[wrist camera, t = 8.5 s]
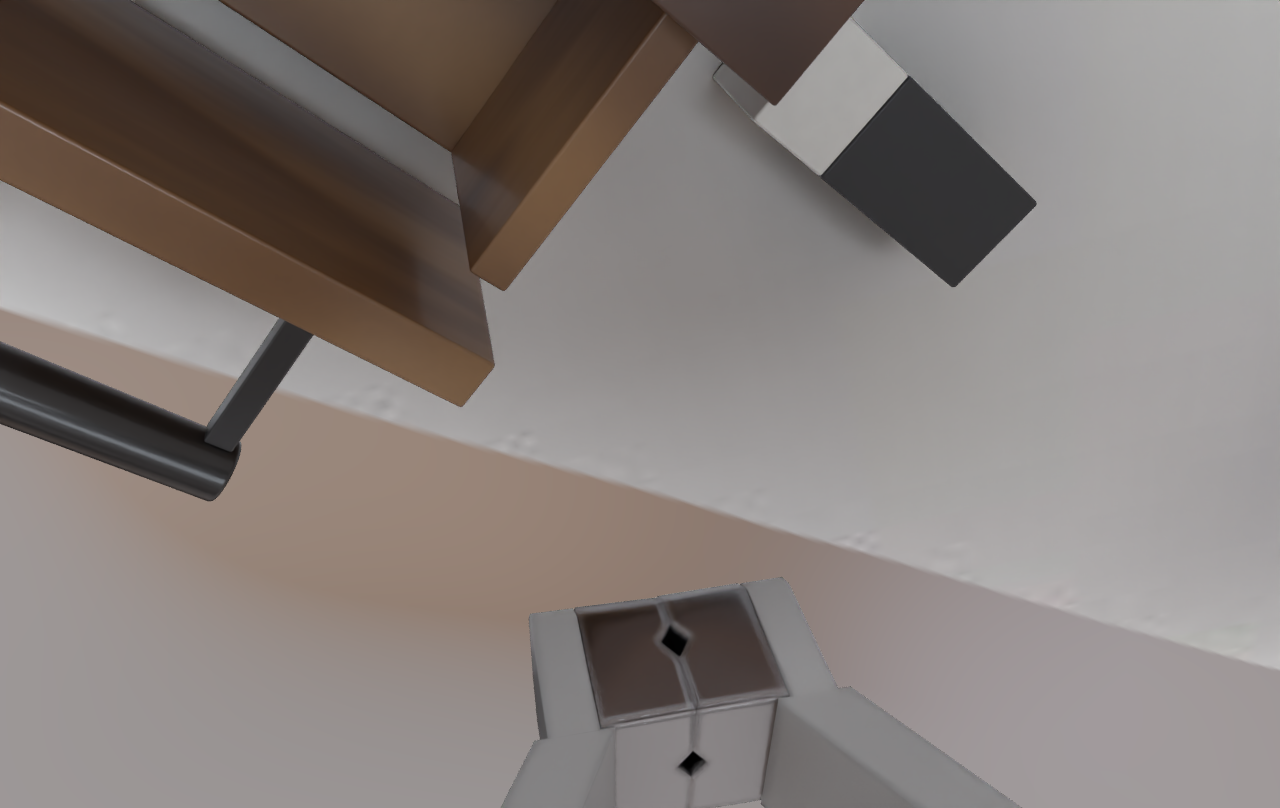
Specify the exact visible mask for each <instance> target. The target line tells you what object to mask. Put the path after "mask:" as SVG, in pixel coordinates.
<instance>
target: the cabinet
mask: <svg viewBox="0 0 1280 808" xmlns="http://www.w3.org/2000/svg"><path fill="white" fill-rule="evenodd" d="M651 1H652V2H653V3H655V4H656V5H657V6H658V7H659V8H660V9H661V10H663V11H664V12H665V13H666V14H667V15H668V16H670V17H671V18H672V19H673V20H674V21H675V22H677V23H678V24H679V25H680V26H681V27H682V28H684V29H685V30H686V31H687V32H688V33H689V34H690V35H692V36H693V37H694V38H695V39H696V40H697V41H699V42H700V43H701V44H702V45H703V46H704V47H706V48H707V49H708V50H709V51H710V52H711V53H713V54H714V55H715V56H716V57H717V58H718V59H719V60H721V61H722V62H723V63H724V64H725V65H726V66H728V67H729V68H730V69H731V70H732V71H733V72H735V73H736V74H737V75H738V76H739V77H740V78H742V79H743V80H744V81H745V82H746V83H747V84H749V85H750V86H751V87H752V88H753V89H754V90H755V91H757V92H758V93H759V94H760V95H761V96H762V97H764V98H765V99H766V100H767V101H768V102H769V103H771V104H772V105H774V106H776V105H777V104H778V103H779V102H780V101H781V100H782V98H783V97H784V96H785V95H786V94H787V92H788V91H789V90H790V89H791V88H792V86H793V85H794V84H795V83H796V82H797V80H798V79H799V78H800V77H801V76H802V74H803V73H804V72H805V71H806V70H807V68H808V67H809V66H810V65H811V64H812V62H813V61H814V60H815V59H816V58H817V56H818V55H819V54H820V53H821V52H822V50H823V49H824V48H825V47H826V46H827V44H828V43H829V42H830V41H831V40H832V38H833V37H834V36H835V35H836V34H837V32H838V31H839V30H840V29H841V28H842V26H843V25H844V24H845V23H846V22H847V20H848V19H849V18H850V17H851V16H852V14H853V13H854V12H855V11H856V10H857V8H858V7H859V6H860V5H861V4H862V2H863V1H864V0H651Z"/></svg>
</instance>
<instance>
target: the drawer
mask: <svg viewBox="0 0 1280 808" xmlns="http://www.w3.org/2000/svg"><path fill="white" fill-rule="evenodd" d="M219 1H220V2H222V3H223V4H225V5H226V6H228V7H229V8H231V9H232V10H234V11H235V12H237V13H238V14H240V15H241V16H243V17H245V18H246V19H248V20H249V21H251V22H252V23H254V24H255V25H257V26H258V27H260V28H261V29H263V30H264V31H266V32H267V33H269V34H271V35H272V36H274V37H275V38H277V39H278V40H280V41H281V42H283V43H284V44H286V45H287V46H289V47H290V48H292V49H293V50H295V51H297V52H298V53H300V54H301V55H303V56H304V57H306V58H307V59H309V60H310V61H312V62H313V63H315V64H316V65H318V66H319V67H321V68H323V69H324V70H326V71H327V72H329V73H330V74H332V75H333V76H335V77H336V78H338V79H339V80H341V81H342V82H344V83H345V84H347V85H348V86H350V87H352V88H353V89H355V90H356V91H358V92H359V93H361V94H362V95H364V96H365V97H367V98H368V99H370V100H371V101H373V102H374V103H376V104H378V105H379V106H381V107H382V108H384V109H385V110H387V111H388V112H390V113H391V114H393V115H394V116H396V117H397V118H399V119H400V120H402V121H404V122H405V123H407V124H408V125H410V126H411V127H413V128H414V129H416V130H417V131H419V132H420V133H422V134H423V135H425V136H426V137H428V138H430V139H431V140H433V141H434V142H436V143H437V144H439V145H440V146H442V147H443V148H445V149H446V150H448V151H449V152H451V155H452V162H453V168H454V174H455V180H456V187H457V193H458V199H459V205H460V206H459V205H457V204H456V203H454V202H453V201H451V200H449V199H448V198H446V197H445V196H443V195H441V194H440V193H438V192H437V191H435V190H433V189H432V188H430V187H429V186H427V185H425V184H424V183H422V182H420V181H419V180H417V179H416V178H414V177H412V176H411V175H409V174H408V173H406V172H404V171H403V170H401V169H400V168H398V167H396V166H395V165H393V164H392V163H390V162H388V161H387V160H385V159H384V158H382V157H380V156H379V155H377V154H376V153H374V152H372V151H371V150H369V149H368V148H366V147H364V146H363V145H361V144H360V143H358V142H356V141H355V140H353V139H351V138H350V137H348V136H347V135H345V134H343V133H342V132H340V131H339V130H337V129H335V128H334V127H332V126H331V125H329V124H327V123H326V122H324V121H323V120H321V119H319V118H318V117H316V116H315V115H313V114H311V113H310V112H308V111H307V110H305V109H303V108H302V107H300V106H299V105H297V104H295V103H294V102H292V101H291V100H289V99H287V98H286V97H284V96H283V95H281V94H279V93H278V92H276V91H274V90H273V89H271V88H270V87H268V86H266V85H265V84H263V83H262V82H260V81H258V80H257V79H255V78H254V77H252V76H250V75H249V74H247V73H246V72H244V71H242V70H241V69H239V68H238V67H236V66H234V65H233V64H231V63H230V62H228V61H226V60H225V59H223V58H222V57H220V56H218V55H217V54H215V53H214V52H212V51H210V50H209V49H207V48H205V47H204V46H202V45H201V44H199V43H197V42H196V41H194V40H193V39H191V38H189V37H188V36H186V35H185V34H183V33H181V32H180V31H178V30H177V29H175V28H173V27H172V26H170V25H169V24H167V23H165V22H164V21H162V20H161V19H159V18H157V17H156V16H154V15H153V14H151V13H149V12H148V11H146V10H145V9H143V8H141V7H140V6H138V5H137V4H135V3H133V2H132V1H130V0H0V180H1V181H3V182H5V183H7V184H9V185H11V186H13V187H15V188H17V189H19V190H21V191H24V192H26V193H28V194H30V195H32V196H34V197H36V198H38V199H40V200H42V201H44V202H46V203H48V204H50V205H52V206H54V207H56V208H58V209H60V210H62V211H64V212H66V213H68V214H70V215H72V216H74V217H76V218H78V219H80V220H82V221H84V222H86V223H88V224H90V225H92V226H94V227H96V228H98V229H100V230H102V231H104V232H107V233H109V234H111V235H113V236H115V237H117V238H119V239H121V240H123V241H125V242H127V243H129V244H131V245H133V246H135V247H137V248H139V249H141V250H143V251H145V252H147V253H149V254H151V255H153V256H155V257H157V258H159V259H161V260H163V261H165V262H167V263H169V264H171V265H173V266H175V267H177V268H179V269H181V270H183V271H185V272H188V273H190V274H192V275H194V276H196V277H198V278H200V279H202V280H204V281H206V282H208V283H210V284H212V285H214V286H216V287H218V288H220V289H222V290H224V291H226V292H228V293H230V294H232V295H234V296H236V297H238V298H240V299H242V300H244V301H246V302H248V303H250V304H252V305H254V306H256V307H258V308H260V309H262V310H264V311H266V312H268V313H271V314H273V315H275V316H277V317H279V319H278V321H277V322H276V324H275V325H274V327H273V328H272V330H271V331H270V333H269V334H268V336H267V337H266V339H265V340H264V342H263V343H262V345H261V346H260V348H259V349H258V350H257V352H256V353H255V355H254V356H253V358H252V359H251V361H250V362H249V364H248V365H247V367H246V368H245V370H244V371H243V373H242V374H241V376H240V377H239V379H238V380H237V382H236V383H235V385H234V386H233V388H232V389H231V391H230V392H229V393H228V395H227V397H226V398H225V399H224V401H223V402H222V404H221V405H220V407H219V408H218V410H217V411H216V413H215V414H214V416H213V417H212V419H211V420H210V422H209V423H208V425H207V427H206V426H203V425H201V424H199V423H196V422H194V421H192V420H189V419H187V418H184V417H182V416H180V415H177V414H175V413H172V412H170V411H167V410H165V409H162V408H160V407H158V406H155V405H153V404H151V403H148V402H146V401H143V400H141V399H138V398H136V397H134V396H131V395H129V394H126V393H124V392H122V391H119V390H117V389H114V388H112V387H109V386H107V385H105V384H102V383H100V382H97V381H95V380H92V379H90V378H88V377H85V376H83V375H80V374H78V373H76V372H73V371H71V370H68V369H66V368H63V367H61V366H59V365H56V364H54V363H51V362H49V361H46V360H44V359H42V358H39V357H37V356H35V355H32V354H30V353H27V352H25V351H22V350H20V349H17V348H15V347H13V346H10V345H8V344H6V343H3V342H1V341H0V424H2V425H5V426H8V427H10V428H13V429H15V430H18V431H21V432H23V433H26V434H29V435H32V436H34V437H37V438H40V439H42V440H45V441H48V442H50V443H53V444H56V445H58V446H61V447H64V448H66V449H69V450H72V451H75V452H77V453H80V454H83V455H85V456H88V457H91V458H94V459H96V460H99V461H101V462H104V463H107V464H109V465H112V466H115V467H117V468H120V469H123V470H125V471H128V472H131V473H134V474H136V475H139V476H142V477H144V478H147V479H150V480H152V481H155V482H158V483H160V484H163V485H166V486H169V487H171V488H174V489H176V490H179V491H182V492H185V493H187V494H190V495H193V496H195V497H198V498H201V499H203V500H206V501H213V500H214V499H216V498H217V497H218V496H219V495H220V493H221V492H222V491H223V489H224V488H225V486H226V484H227V483H228V481H229V479H230V477H231V476H232V474H233V471H234V469H235V467H236V465H237V462H238V459H239V456H240V452H241V442H240V440H241V438H242V437H243V435H244V434H245V433H246V431H247V430H248V428H249V427H250V425H251V424H252V423H253V421H254V420H255V418H256V417H257V415H258V414H259V412H260V411H261V410H262V408H263V407H264V405H265V404H266V402H267V401H268V400H269V398H270V397H271V395H272V394H273V392H274V391H275V390H276V388H277V387H278V385H279V384H280V382H281V381H282V380H283V378H284V377H285V375H286V374H287V372H288V371H289V369H290V368H291V367H292V365H293V364H294V362H295V361H296V359H297V358H298V357H299V355H300V354H301V352H302V351H303V349H304V348H305V347H306V345H307V344H308V342H309V341H310V339H311V338H312V336H313V335H315V336H317V337H319V338H321V339H323V340H325V341H327V342H329V343H331V344H333V345H335V346H337V347H339V348H341V349H343V350H345V351H347V352H349V353H352V354H354V355H356V356H358V357H360V358H362V359H364V360H366V361H368V362H370V363H372V364H374V365H376V366H378V367H380V368H382V369H384V370H386V371H388V372H390V373H392V374H394V375H396V376H398V377H400V378H402V379H404V380H406V381H408V382H410V383H412V384H414V385H416V386H418V387H420V388H422V389H424V390H426V391H428V392H430V393H432V394H435V395H437V396H439V397H441V398H443V399H445V400H447V401H449V402H451V403H453V404H455V405H457V406H459V407H462V406H463V405H464V404H465V403H466V402H467V400H468V399H469V398H470V397H471V395H472V394H473V393H474V392H475V390H476V389H477V388H478V387H479V385H480V384H481V383H482V382H483V380H484V379H485V378H486V377H487V375H488V374H489V373H490V372H491V370H492V369H493V368H494V366H495V363H494V357H493V351H492V346H491V340H490V334H489V328H488V323H487V317H486V311H485V306H484V300H483V294H482V289H481V283H480V278H481V279H483V280H485V281H487V282H488V283H490V284H492V285H493V286H495V287H497V288H499V289H500V290H502V291H505V290H506V289H507V288H508V287H509V285H510V284H511V283H512V281H513V280H514V279H515V278H516V276H517V275H518V274H519V272H520V271H521V270H522V269H523V267H524V266H525V265H526V263H527V262H528V261H529V260H530V258H531V257H532V256H533V254H534V253H535V252H536V251H537V249H538V248H539V247H540V245H541V244H542V243H543V242H544V240H545V239H546V238H547V236H548V235H549V234H550V232H551V231H552V230H553V229H554V227H555V226H556V225H557V223H558V222H559V221H560V220H561V218H562V217H563V216H564V214H565V213H566V212H567V211H568V209H569V208H570V207H571V205H572V204H573V203H574V202H575V200H576V199H577V198H578V196H579V195H580V194H581V193H582V191H583V190H584V189H585V187H586V186H587V185H588V183H589V182H590V181H591V180H592V178H593V177H594V176H595V174H596V173H597V172H598V171H599V169H600V168H601V167H602V165H603V164H604V163H605V162H606V160H607V159H608V158H609V156H610V155H611V154H612V153H613V151H614V150H615V149H616V147H617V146H618V145H619V144H620V142H621V141H622V140H623V138H624V137H625V136H626V134H627V133H628V132H629V131H630V129H631V128H632V127H633V125H634V124H635V123H636V122H637V120H638V119H639V118H640V116H641V115H642V114H643V113H644V111H645V110H646V109H647V107H648V106H649V105H650V104H651V102H652V101H653V100H654V98H655V97H656V96H657V95H658V93H659V92H660V91H661V89H662V88H663V87H664V85H665V84H666V83H667V82H668V80H669V79H670V78H671V76H672V75H673V74H674V73H675V71H676V70H677V69H678V67H679V66H680V65H681V64H682V62H683V61H684V60H685V58H686V57H687V56H688V55H689V53H690V52H691V51H692V49H693V48H694V47H695V46H696V44H697V43H698V42H699V41H697V40H696V39H695V38H694V37H693V36H692V35H690V34H689V33H688V32H687V31H686V30H685V29H684V28H682V27H681V26H680V25H679V24H678V23H677V22H675V21H674V20H673V19H672V18H671V17H670V16H668V15H667V14H666V13H665V12H664V11H663V10H661V9H660V8H659V7H658V6H657V5H656V4H655V3H653V2H652V1H651V0H219Z"/></svg>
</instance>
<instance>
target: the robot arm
mask: <svg viewBox="0 0 1280 808" xmlns="http://www.w3.org/2000/svg"><path fill="white" fill-rule="evenodd" d="M529 627H530V641H531V656H532V669H533V681H534V692H535V702H536V713H537V722H538V729H539V736H540V740H538V741H534V743H533V745H532V747H531V749H530V751H529V753H528V755H527V757H526V759H525V761H524V763H523V765H522V767H521V769H520V771H519V773H518V775H517V777H516V779H515V780H514V783H513V784H512V786H511V788H510V790H509V792H508V794H507V796H506V798H505V800H504V802H503V804H502V806H501V808H715V807H721V806H727V805H733V804H739V803H746V802H752V801H758V800H761V804H762V805H763V806H764V807H765V808H1022V807H1020V806H1019V805H1017V804H1016V803H1015V802H1013V801H1012V800H1010V799H1009V798H1007V797H1006V796H1005V795H1003V794H1002V793H1000V792H999V791H998V790H996V789H995V788H993V787H992V786H991V785H989V784H988V783H986V782H985V781H983V780H982V779H981V778H979V777H977V776H976V775H975V774H974V773H972V772H971V771H969V770H968V769H967V768H965V767H964V766H962V765H961V764H959V763H958V762H956V761H955V760H954V759H952V758H951V757H950V756H948V755H947V754H945V753H944V752H942V751H941V750H940V749H938V748H937V747H935V746H934V745H933V744H931V743H930V742H928V741H927V740H926V739H924V738H923V737H921V736H920V735H918V734H917V733H916V732H914V731H913V730H911V729H910V728H908V727H907V726H905V725H904V724H903V723H901V722H900V721H898V720H897V719H895V718H894V717H893V716H891V715H890V714H889V713H887V712H886V711H884V710H883V709H882V708H880V707H879V706H877V705H876V704H875V703H873V702H872V701H870V700H869V699H868V698H866V697H865V696H863V695H862V694H860V693H859V692H858V691H856V690H855V689H853V688H852V687H844V688H838V687H837V685H836V682H835V680H834V678H833V676H832V674H831V672H830V670H829V668H828V665H827V663H826V661H825V659H824V657H823V655H822V653H821V651H820V648H819V646H818V644H817V642H816V640H815V638H814V636H813V633H812V632H811V629H810V627H809V625H808V623H807V621H806V619H805V617H804V614H803V612H802V610H801V608H800V606H799V604H798V602H797V599H796V597H795V595H794V593H793V591H792V589H791V587H790V585H789V583H788V582H787V581H786V580H785V579H784V578H782V577H780V578H773V579H766V580H760V581H753V582H746V583H742V584H740V585H739V584H737V583H736V584H730V585H724V586H718V587H711V588H705V589H699V590H693V591H687V592H681V593H674V594H668V595H662V596H658V597H657V598H649V599H641V600H633V601H624V602H616V603H609V604H601V605H592V606H585V607H576V608H575V609H574V610H573V609H564V610H557V611H549V612H541V613H533V614H530V616H529Z"/></svg>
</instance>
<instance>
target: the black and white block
mask: <svg viewBox="0 0 1280 808" xmlns="http://www.w3.org/2000/svg"><path fill="white" fill-rule="evenodd" d="M713 78H714V80H715V81H716V82H717V83H718V84H719V85H720V86H721V87H722V88H723V89H724V90H725V91H726V92H727V94H728V95H729V96H730V97H731V98H732V99H733V100H734V101H735V102H736V103H737V104H738V105H739V106H740V107H741V109H742V110H743V111H744V112H745V113H746V114H747V115H748V116H749V117H750V118H751V119H752V120H753V121H754V122H755V123H756V124H757V125H758V126H760V127H761V128H762V129H763V130H764V131H765V132H767V133H768V134H769V135H770V136H771V137H773V138H774V139H775V140H776V141H777V142H779V143H780V144H781V145H782V146H783V147H785V148H786V149H787V150H788V151H789V152H791V153H792V154H793V155H794V156H795V157H797V158H798V159H799V160H800V161H801V162H803V163H804V164H805V165H806V166H807V167H809V168H810V169H811V170H812V171H813V172H815V173H816V174H817V175H819V176H820V177H821V178H822V179H823V180H824V181H825V182H827V183H828V184H829V185H830V186H831V187H833V188H834V189H835V190H836V191H837V192H839V193H840V194H841V195H842V196H843V197H844V198H846V199H847V200H848V201H849V202H850V203H852V204H853V205H854V206H855V207H856V208H858V209H859V210H860V211H861V212H862V213H864V214H865V215H866V216H867V217H868V218H870V219H871V220H872V221H873V222H874V223H876V224H877V225H878V226H879V227H880V228H882V229H883V230H884V231H885V232H886V233H888V234H889V235H890V236H891V237H892V238H894V239H895V240H896V241H897V242H898V243H900V244H901V245H902V246H903V247H904V248H906V249H907V250H908V251H909V252H910V253H911V254H913V255H914V256H915V257H916V258H917V259H919V260H920V261H921V262H922V263H923V264H925V265H926V266H927V267H928V268H929V269H931V270H932V271H933V272H934V273H935V274H937V275H938V276H939V277H940V278H941V279H943V280H944V281H945V282H946V283H947V284H949V285H950V286H951V287H956V286H957V285H958V284H959V283H960V282H961V281H962V280H963V279H964V278H965V277H966V276H967V275H968V274H969V273H970V272H971V271H972V270H973V269H974V268H975V267H976V266H977V265H978V264H979V263H980V262H981V261H982V260H983V259H984V258H985V257H986V255H987V254H988V253H989V252H990V251H991V250H992V249H993V248H994V247H995V246H996V245H997V244H998V243H999V242H1000V241H1001V240H1002V239H1003V238H1004V237H1005V236H1006V235H1007V234H1008V233H1009V232H1010V231H1011V230H1012V229H1013V228H1014V227H1015V226H1016V225H1017V224H1018V223H1019V222H1020V221H1021V220H1022V219H1023V218H1024V217H1025V216H1026V215H1027V214H1028V213H1029V212H1030V211H1031V210H1032V209H1033V208H1034V207H1035V206H1036V204H1037V203H1036V201H1035V200H1034V199H1033V198H1032V197H1031V196H1030V195H1029V194H1028V193H1027V192H1026V191H1025V190H1024V189H1023V188H1022V187H1021V186H1020V185H1019V184H1018V183H1017V182H1016V181H1015V180H1014V179H1013V178H1012V177H1011V176H1010V175H1009V174H1008V173H1007V172H1006V171H1005V170H1004V169H1003V168H1002V167H1001V166H1000V165H999V164H998V163H997V162H996V161H995V160H994V159H993V158H992V157H991V156H990V155H989V154H988V153H987V152H986V151H985V150H984V149H983V148H982V147H981V146H980V145H979V144H978V143H977V142H976V141H975V140H974V139H973V138H972V137H971V136H970V135H969V134H968V133H967V132H966V131H965V130H964V129H963V128H962V127H961V126H960V125H959V124H958V123H957V122H956V121H955V120H954V119H953V118H952V117H951V116H950V115H949V114H948V113H947V112H946V111H945V110H944V109H943V108H942V107H941V106H940V105H939V104H937V103H936V102H935V101H934V100H933V99H932V98H931V97H930V96H929V95H928V94H927V93H926V92H925V91H924V90H923V89H922V88H921V87H920V86H919V85H918V84H917V83H916V82H915V81H914V80H913V79H912V78H911V77H910V76H909V75H907V73H906V72H905V71H904V70H903V69H902V68H901V67H900V66H899V65H898V64H897V63H896V62H895V61H894V60H893V59H892V58H891V57H890V56H889V55H888V54H887V53H886V52H885V51H884V50H883V49H882V48H881V47H880V46H879V45H878V44H877V43H876V42H875V41H874V40H873V39H872V38H871V37H870V36H869V35H868V34H867V33H866V32H865V31H864V30H863V29H862V28H861V27H860V26H859V25H858V24H857V23H856V22H855V21H854V20H853V19H852V18H851V17H850V18H849V19H848V20H847V22H846V23H845V24H844V25H843V26H842V28H841V29H840V30H839V31H838V32H837V34H836V35H835V36H834V37H833V38H832V40H831V41H830V42H829V43H828V44H827V46H826V47H825V48H824V49H823V50H822V52H821V53H820V54H819V55H818V56H817V58H816V59H815V60H814V61H813V62H812V64H811V65H810V66H809V67H808V68H807V70H806V71H805V72H804V73H803V74H802V76H801V77H800V78H799V79H798V80H797V82H796V83H795V84H794V85H793V86H792V88H791V89H790V90H789V91H788V92H787V94H786V95H785V96H784V97H783V98H782V100H781V101H780V102H779V103H778V104H777V105H776V106H774V105H772V104H771V103H769V102H768V101H767V100H766V99H765V98H764V97H762V96H761V95H760V94H759V93H758V92H757V91H755V90H754V89H753V88H752V87H751V86H750V85H749V84H747V83H746V82H745V81H744V80H743V79H742V78H740V77H739V76H738V75H737V74H736V73H735V72H733V71H732V70H731V69H730V68H729V67H728V66H726V65H725V64H724V63H723V64H722V65H721V67H720V68H719V69H718V70H717V72H716V73H715V74H714V76H713Z"/></svg>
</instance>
